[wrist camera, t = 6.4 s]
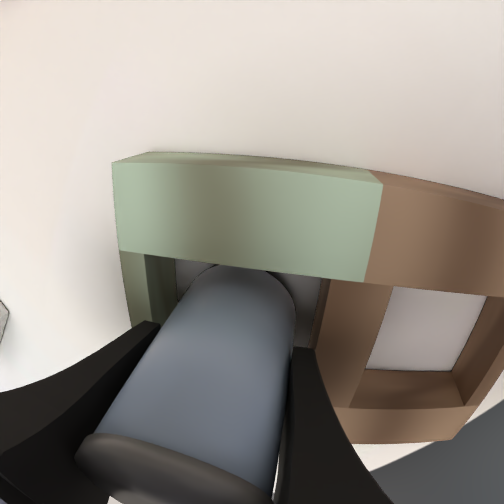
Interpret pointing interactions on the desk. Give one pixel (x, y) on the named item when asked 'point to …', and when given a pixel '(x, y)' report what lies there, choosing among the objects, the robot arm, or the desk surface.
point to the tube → (202, 399)
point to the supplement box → (2, 318)
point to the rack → (327, 267)
